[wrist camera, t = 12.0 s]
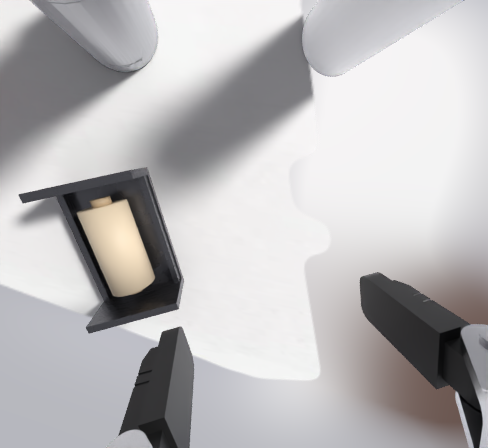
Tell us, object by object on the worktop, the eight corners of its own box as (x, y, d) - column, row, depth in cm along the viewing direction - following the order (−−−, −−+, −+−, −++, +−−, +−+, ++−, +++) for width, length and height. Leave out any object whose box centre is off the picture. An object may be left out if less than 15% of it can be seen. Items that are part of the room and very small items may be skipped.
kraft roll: (89, 199, 33) (61, 208, 28) (131, 190, 33) (111, 197, 28) (125, 283, 37) (106, 306, 32) (161, 275, 38) (150, 297, 32)
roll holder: (61, 186, 33) (18, 194, 25) (146, 167, 34) (130, 170, 26) (111, 299, 38) (88, 333, 31) (183, 280, 39) (178, 309, 32)
